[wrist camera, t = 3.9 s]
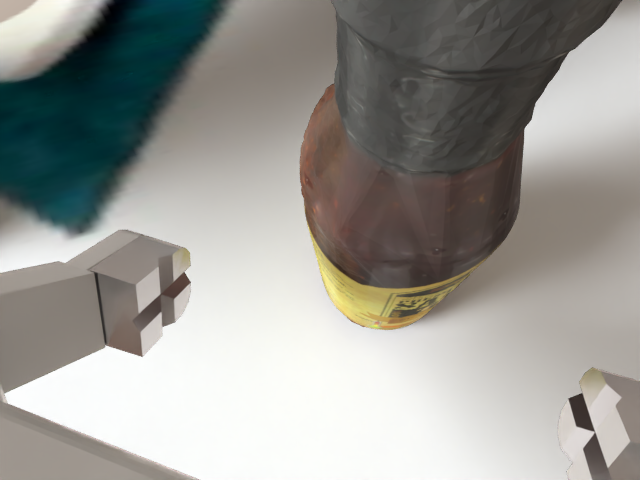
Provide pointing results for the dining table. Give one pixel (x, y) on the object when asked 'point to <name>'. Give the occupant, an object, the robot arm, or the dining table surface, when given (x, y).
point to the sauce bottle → (426, 142)
